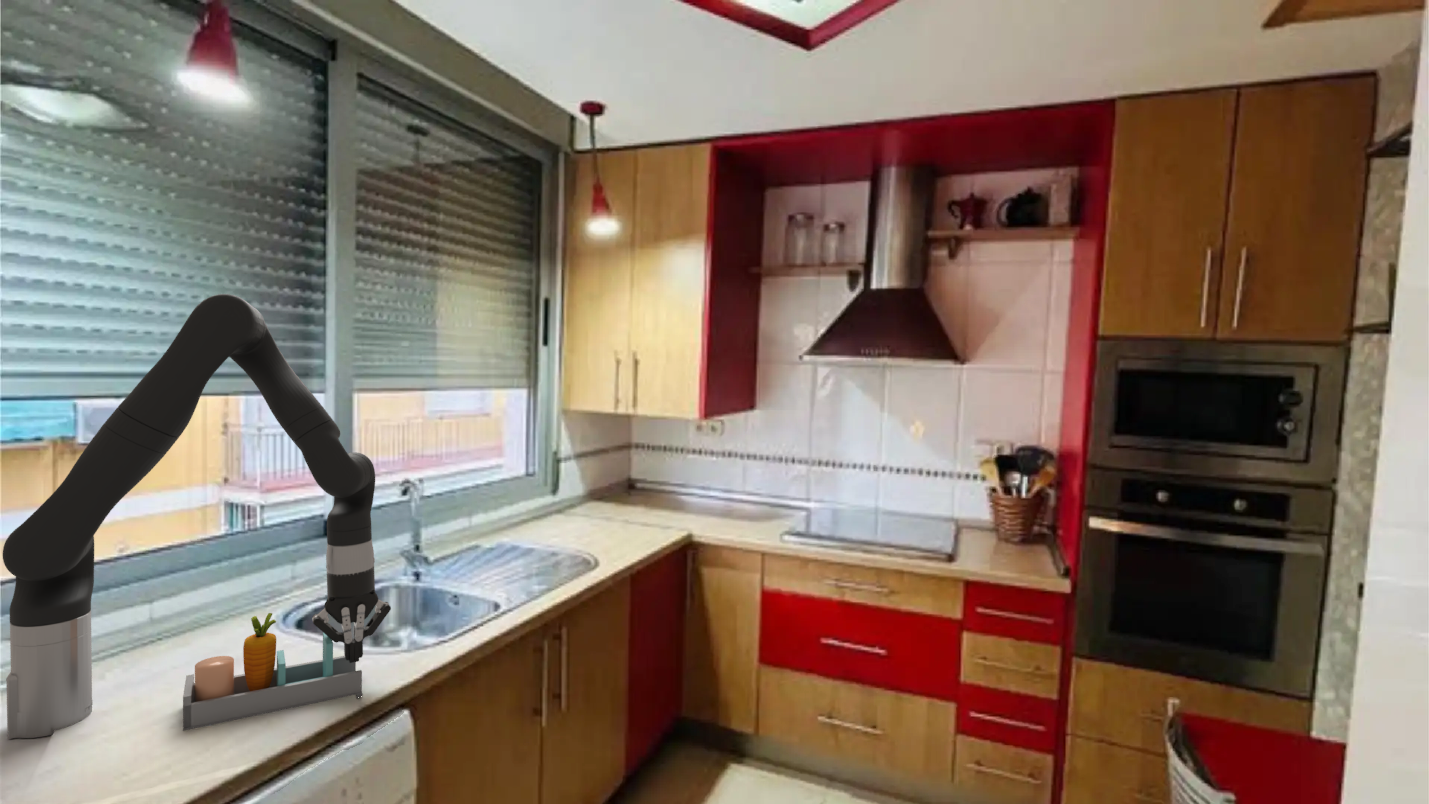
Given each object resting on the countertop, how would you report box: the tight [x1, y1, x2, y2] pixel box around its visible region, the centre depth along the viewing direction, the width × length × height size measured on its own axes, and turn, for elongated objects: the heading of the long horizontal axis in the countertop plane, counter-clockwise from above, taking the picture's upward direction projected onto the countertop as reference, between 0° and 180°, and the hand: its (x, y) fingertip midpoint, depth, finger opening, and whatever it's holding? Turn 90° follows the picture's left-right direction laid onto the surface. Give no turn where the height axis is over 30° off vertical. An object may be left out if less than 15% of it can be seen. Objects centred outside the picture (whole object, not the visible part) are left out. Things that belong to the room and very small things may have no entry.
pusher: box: [276, 632, 334, 686], centre depth 121 cm, size 8×6×9 cm
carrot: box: [242, 612, 277, 691], centre depth 118 cm, size 5×5×15 cm
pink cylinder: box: [194, 655, 235, 702], centre depth 114 cm, size 5×5×8 cm
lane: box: [182, 655, 363, 732], centre depth 119 cm, size 25×10×6 cm, turn 124°
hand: (353, 660), depth 126 cm, fingers closed
